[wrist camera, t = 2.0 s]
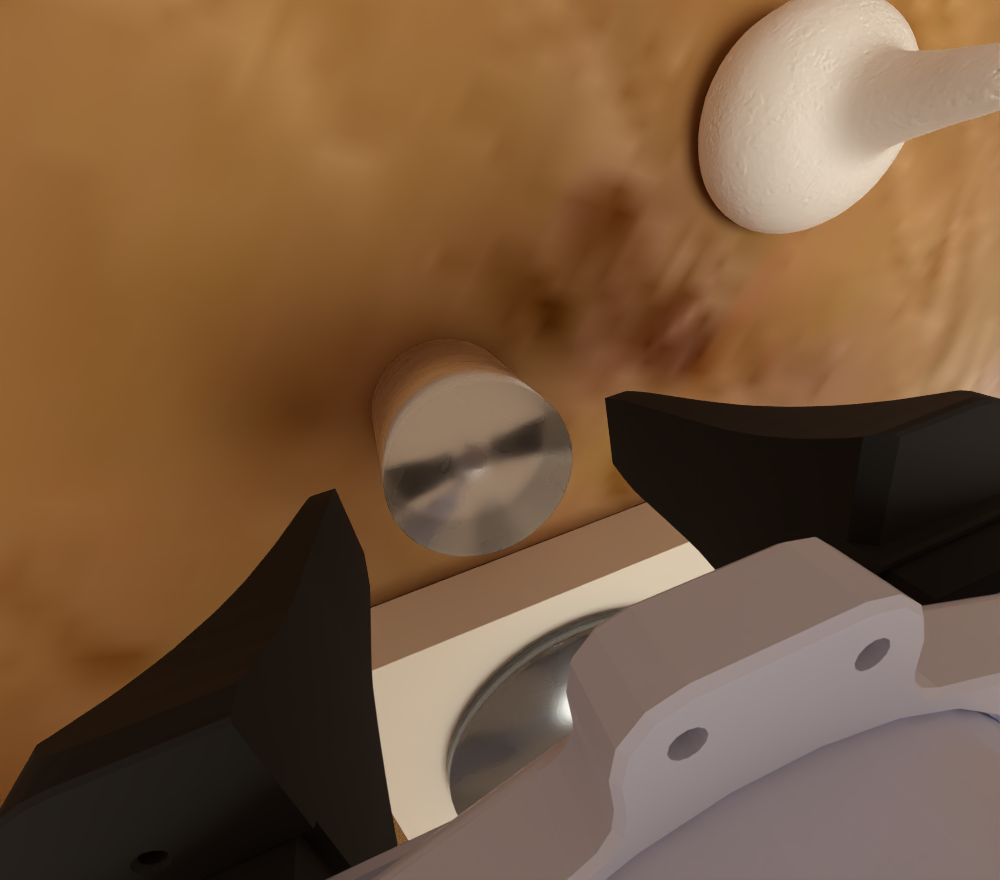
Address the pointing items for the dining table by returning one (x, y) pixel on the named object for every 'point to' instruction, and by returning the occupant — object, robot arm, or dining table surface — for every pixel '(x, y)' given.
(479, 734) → the pan
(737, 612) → the robot arm
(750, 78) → the garlic bulb
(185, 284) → the dining table surface
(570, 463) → the cylinder
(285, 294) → the dining table surface
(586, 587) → the base
